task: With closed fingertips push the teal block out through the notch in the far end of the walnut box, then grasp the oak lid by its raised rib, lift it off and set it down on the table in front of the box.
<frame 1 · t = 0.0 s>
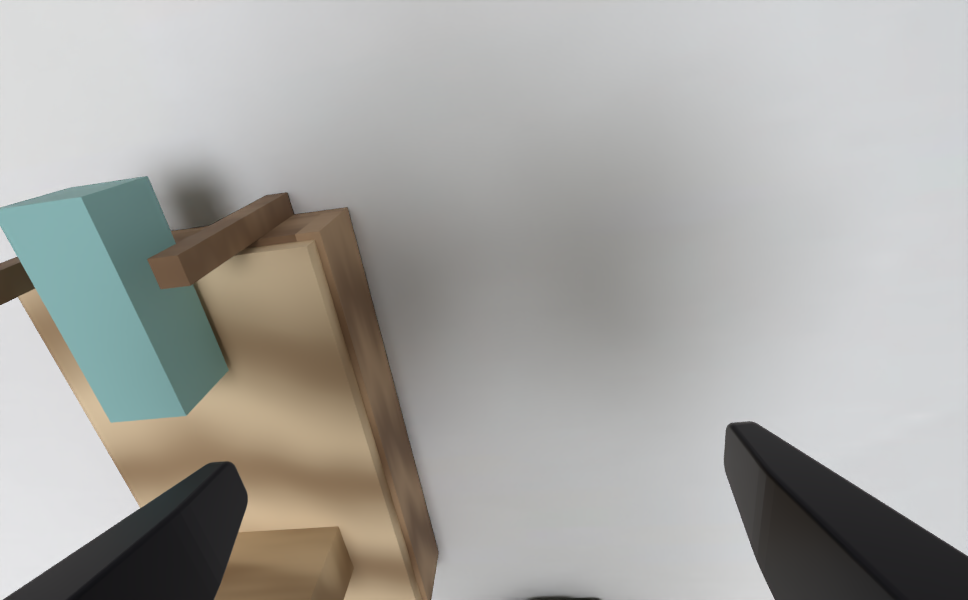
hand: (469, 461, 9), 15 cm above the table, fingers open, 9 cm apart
toolbox: (285, 419, 28), on the table
teal block: (128, 302, 18), point 6 cm above the table, slide at 0.0 cm
lid: (255, 465, 25), point 3 cm above the table, touching toolbox
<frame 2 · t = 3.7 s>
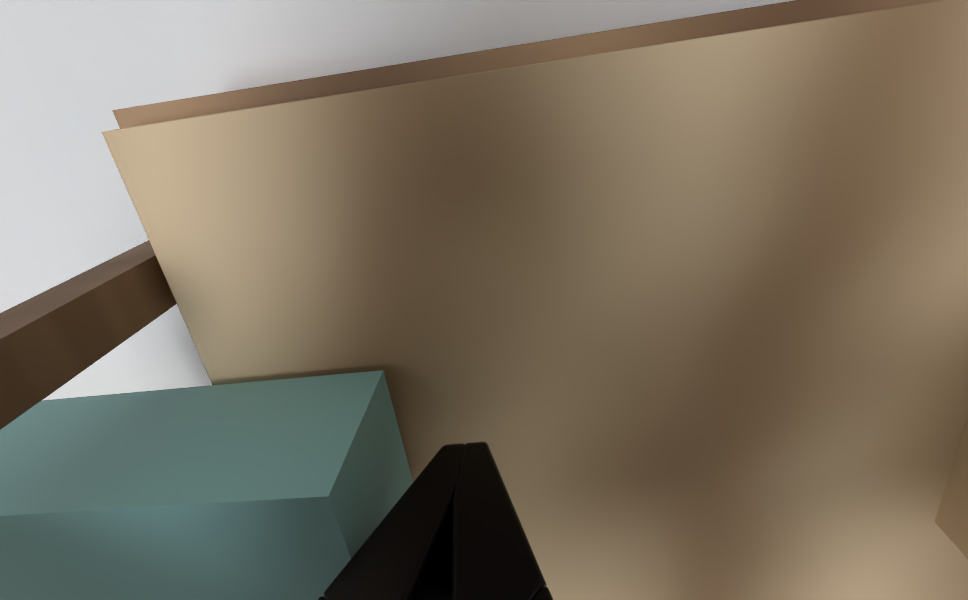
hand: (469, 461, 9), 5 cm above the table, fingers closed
toolbox: (698, 298, 13), on the table
teal block: (166, 505, 9), point 6 cm above the table, slide at 1.1 cm, touching gripper
lid: (753, 372, 10), point 3 cm above the table, touching toolbox
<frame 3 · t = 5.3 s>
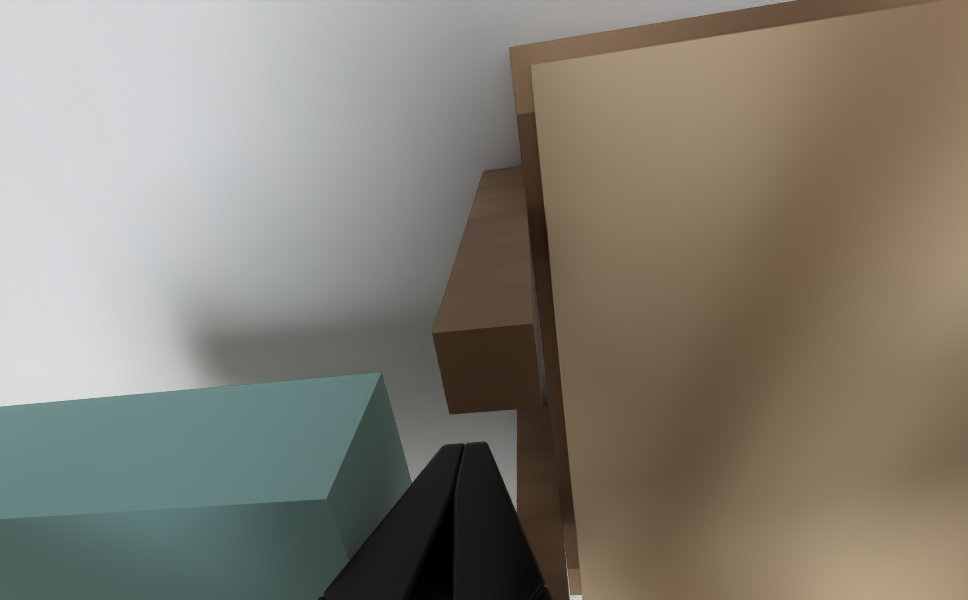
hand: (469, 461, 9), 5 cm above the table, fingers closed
teal block: (165, 508, 9), point 6 cm above the table, slide at 8.0 cm, touching gripper
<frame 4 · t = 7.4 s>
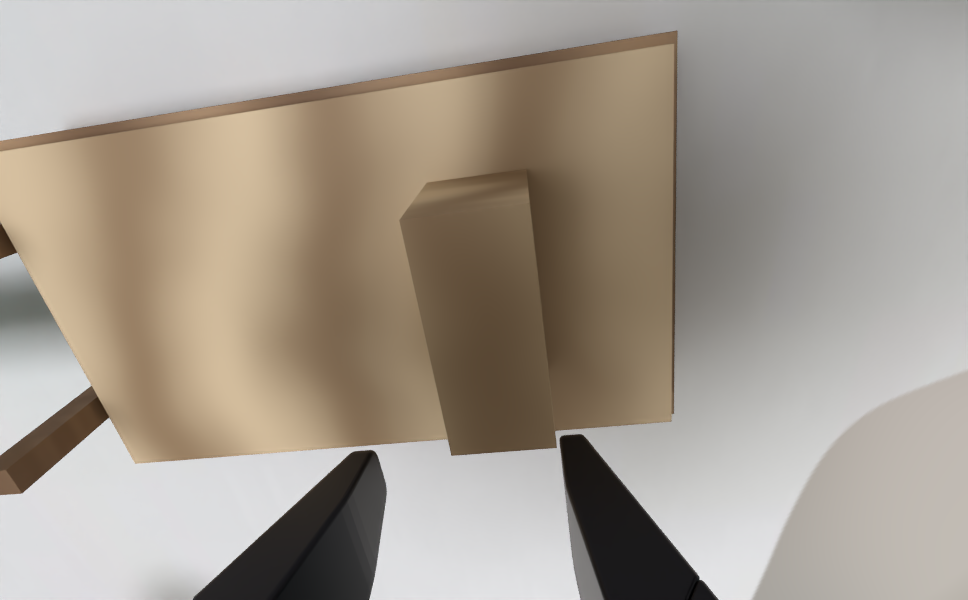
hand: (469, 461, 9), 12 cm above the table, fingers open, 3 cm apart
toolbox: (377, 255, 21), on the table
lid: (352, 290, 18), point 3 cm above the table, touching toolbox
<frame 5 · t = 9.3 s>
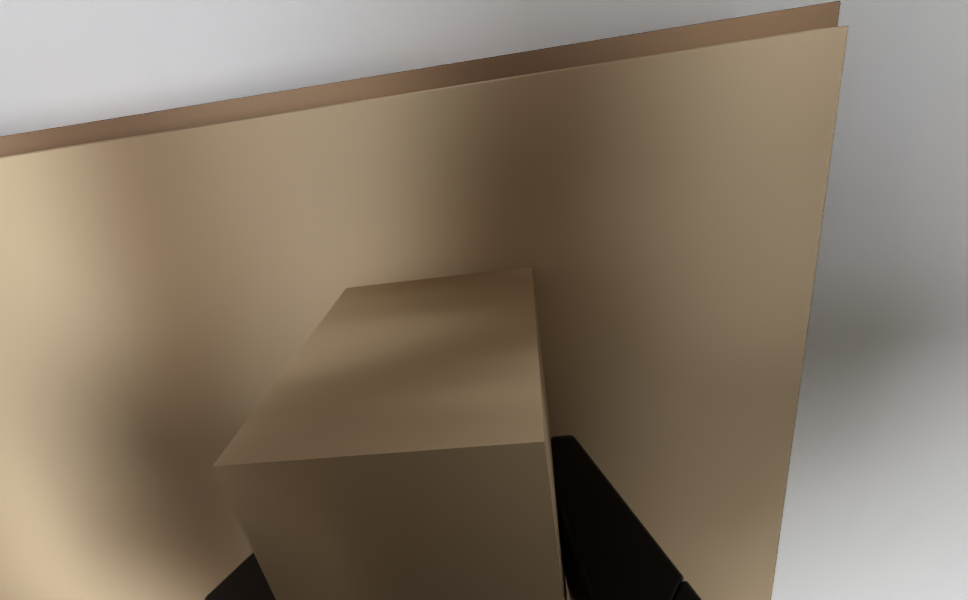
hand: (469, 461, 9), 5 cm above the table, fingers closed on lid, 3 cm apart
toolbox: (303, 354, 14), on the table
lid: (241, 441, 11), point 3 cm above the table, touching gripper, toolbox
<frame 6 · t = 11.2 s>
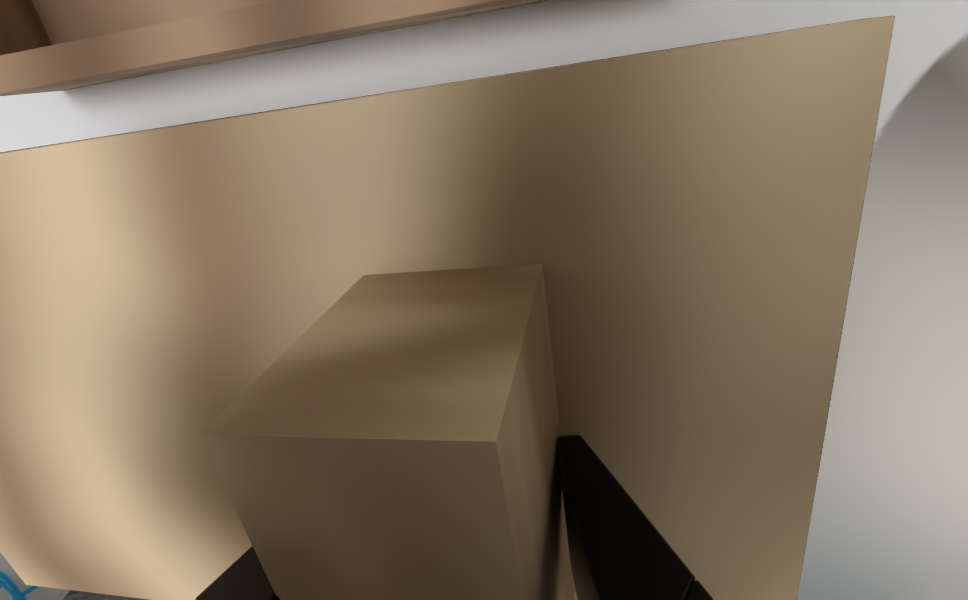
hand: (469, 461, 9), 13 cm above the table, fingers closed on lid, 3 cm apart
figurine: (66, 544, 32), on the table
lid: (274, 411, 12), point 11 cm above the table, tilted 8°, touching gripper
when the fingers open (3 cm above the table, at t = 13.4 s): lid stays where it is, point 1 cm above the table.
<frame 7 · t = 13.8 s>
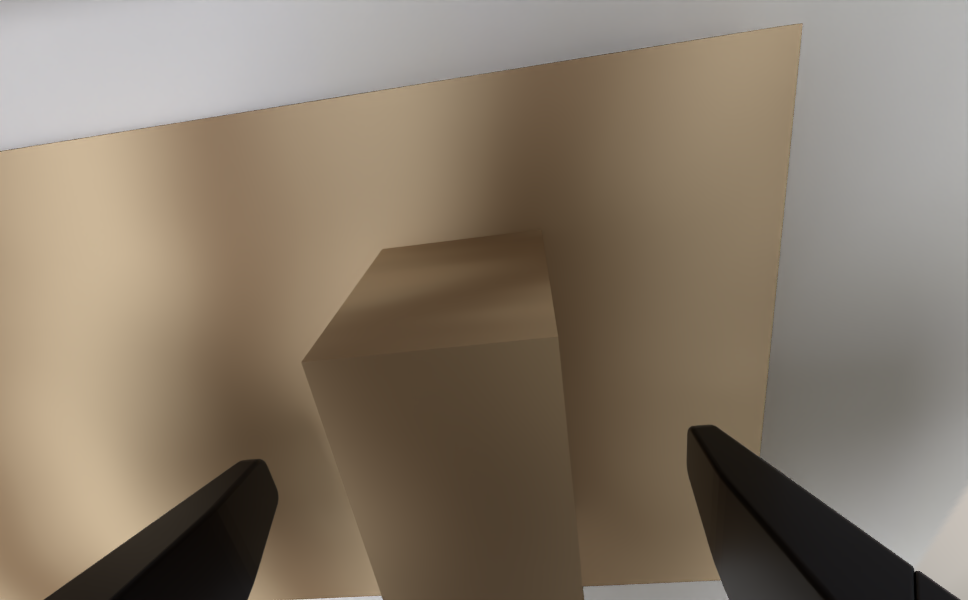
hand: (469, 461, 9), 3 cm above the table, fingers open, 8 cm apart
lid: (281, 393, 12), point 1 cm above the table
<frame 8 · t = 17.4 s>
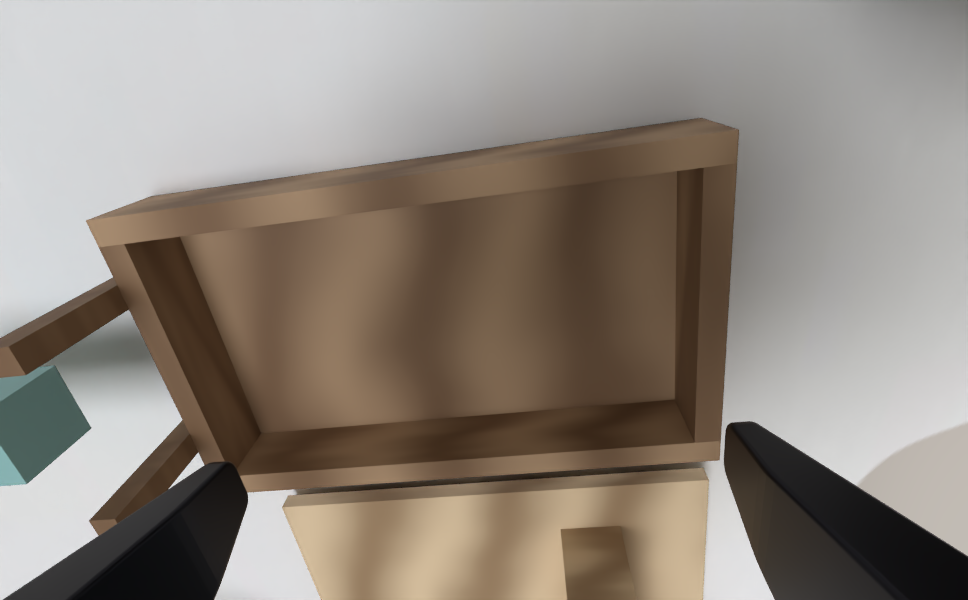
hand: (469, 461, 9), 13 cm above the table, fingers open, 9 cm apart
toolbox: (438, 308, 23), on the table
lid: (501, 565, 29), on the table
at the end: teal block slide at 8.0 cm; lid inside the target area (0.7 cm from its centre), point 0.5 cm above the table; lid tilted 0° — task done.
